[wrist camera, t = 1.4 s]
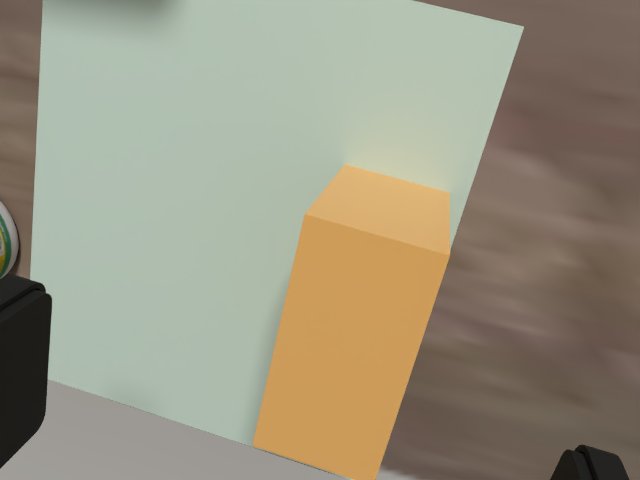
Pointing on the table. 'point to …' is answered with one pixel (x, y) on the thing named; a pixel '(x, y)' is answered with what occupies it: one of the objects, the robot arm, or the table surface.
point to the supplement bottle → (7, 241)
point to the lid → (256, 206)
